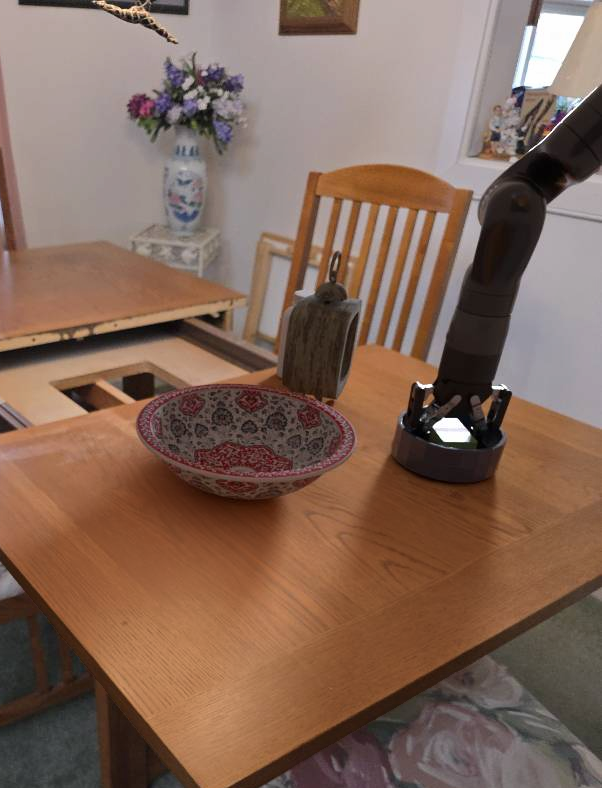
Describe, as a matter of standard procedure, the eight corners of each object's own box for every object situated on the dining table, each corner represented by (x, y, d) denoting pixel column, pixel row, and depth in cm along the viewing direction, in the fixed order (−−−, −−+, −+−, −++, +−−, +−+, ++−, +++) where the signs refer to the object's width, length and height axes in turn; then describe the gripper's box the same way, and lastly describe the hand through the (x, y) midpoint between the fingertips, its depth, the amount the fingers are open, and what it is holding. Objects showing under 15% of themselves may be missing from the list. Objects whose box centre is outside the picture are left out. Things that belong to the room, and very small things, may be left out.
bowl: (472, 439, 112) (481, 406, 109) (513, 486, 99) (525, 451, 96) (378, 437, 111) (385, 404, 108) (408, 485, 98) (417, 450, 95)
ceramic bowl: (90, 481, 95) (88, 426, 90) (217, 415, 115) (220, 368, 110) (274, 565, 81) (282, 506, 76) (382, 474, 101) (393, 422, 96)
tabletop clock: (329, 428, 113) (357, 264, 99) (275, 417, 115) (294, 256, 101) (346, 396, 124) (372, 245, 110) (296, 387, 126) (315, 239, 112)
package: (449, 445, 108) (457, 418, 106) (469, 470, 102) (478, 442, 99) (417, 444, 108) (424, 417, 105) (435, 470, 101) (443, 441, 99)
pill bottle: (327, 376, 131) (340, 294, 123) (302, 387, 126) (314, 302, 118) (292, 365, 136) (302, 285, 127) (267, 375, 131) (276, 292, 122)
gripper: (432, 351, 91) (404, 464, 101) (538, 354, 93) (501, 465, 102) (414, 332, 98) (389, 440, 107) (513, 335, 99) (481, 442, 108)
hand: (444, 452), depth 104 cm, fingers open, 7 cm apart
